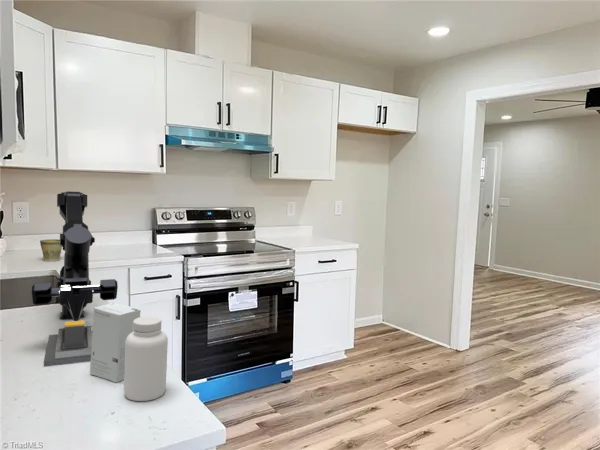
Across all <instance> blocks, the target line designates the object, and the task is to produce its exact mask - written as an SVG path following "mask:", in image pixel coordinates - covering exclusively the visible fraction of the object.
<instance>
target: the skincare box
mask: <svg viewBox="0 0 600 450" xmlns="http://www.w3.org/2000/svg"><path fill="white" fill-rule="evenodd" d="M139 317H141V309H140V308H139V309H138V308H135V307H132V306H129V305H126V304H121V303H116V302H112V303H107V304H104V305H99V306H95V307H93V319H92V347H91V361H89V362H90V365H89V373H90V375H91V376H96V377H97V378H98V377H99V378H102V379H105V380H108V381H111V382H113V383H120V382H121V381H124V372H125V343H126V338H127V337H128V335H129V334H130V333H132V332H134V331H133V321H134V320H135V319H136V318H139Z"/></svg>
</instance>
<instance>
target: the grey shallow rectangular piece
mask: <svg viewBox="0 0 600 450" xmlns="http://www.w3.org/2000/svg"><path fill="white" fill-rule="evenodd" d="M92 331H93V328H92V326H91V325H89V326H84V341H85V340H86V348H78V349H68V350H62V345H63V343H64V342H65V327H64V328H58V331H57V332H58V333H56V334H49V335H48V338H47V339H48V340H47V343H46V348H45V354H44V358H43V367H44V368H45V367H52V366H60V365H67V364H68V365H69V364H77V363H78V364H79V363H86V362H91V347H92Z"/></svg>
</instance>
